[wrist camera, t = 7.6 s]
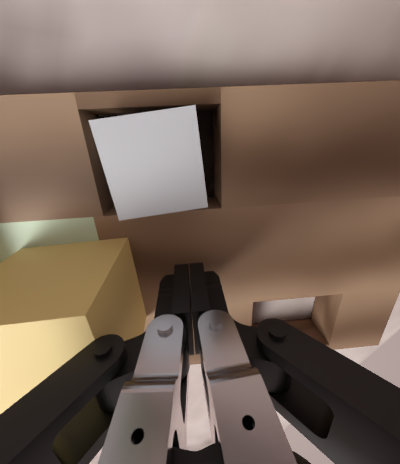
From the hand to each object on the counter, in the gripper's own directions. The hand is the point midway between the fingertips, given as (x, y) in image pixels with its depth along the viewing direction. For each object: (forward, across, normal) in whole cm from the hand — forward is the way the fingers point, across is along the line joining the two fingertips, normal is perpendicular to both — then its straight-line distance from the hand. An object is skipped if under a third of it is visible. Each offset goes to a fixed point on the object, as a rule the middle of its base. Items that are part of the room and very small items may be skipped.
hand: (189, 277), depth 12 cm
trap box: (+4, -2, 0) cm, 4 cm away
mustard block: (+1, +6, +1) cm, 6 cm away
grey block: (+4, +1, -6) cm, 7 cm away
